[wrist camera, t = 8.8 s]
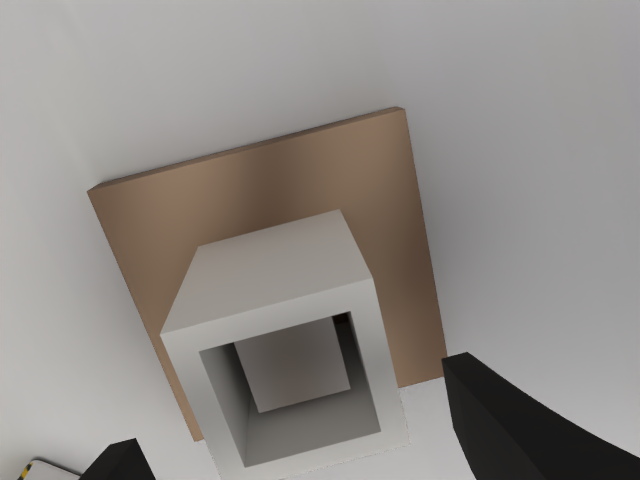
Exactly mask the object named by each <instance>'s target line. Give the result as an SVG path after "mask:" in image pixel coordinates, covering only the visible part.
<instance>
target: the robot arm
mask: <svg viewBox="0 0 640 480" xmlns="http://www.w3.org/2000/svg"><path fill="white" fill-rule="evenodd" d="M441 361H442V367H443V372H444V378H445V383H446V389H447V395H448V400H449V406H450V412H451V417H452V423H453V428H454V431H455V433H456V435H457V438H458V440H459V443H460V445H461V447H462V450H463V452H464V454H465V457H466V459H467V461H468V464H469V466H470V468H471V470H472V472H473V474H474V476H475V478H476V480H640V458H639V457H637V456H635V455H633V454H631V453H629V452H627V451H625V450H623V449H621V448H619V447H617V446H614V445H612V444H610V443H608V442H606V441H604V440H602V439H601V438H599V437H597V436H595V435H593V434H591V433H590V432H588V431H586V430H584V429H583V428H581V427H579V426H577V425H576V424H574V423H572V422H571V421H569V420H567V419H565V418H564V417H562V416H560V415H559V414H557V413H556V412H554V411H552V410H551V409H549V408H547V407H546V406H544V405H543V404H541V403H540V402H538V401H537V400H535V399H534V398H532V397H531V396H529V395H528V394H526V393H524V392H523V391H521V390H520V389H519V388H517V387H516V386H514V385H513V384H511V383H510V382H508V381H507V380H506V379H504V378H503V377H501V376H500V375H499V374H497V373H496V372H494V371H493V370H492V369H490V368H489V367H488V366H486V365H485V364H483V363H482V362H481V361H479V360H478V359H477V358H475V357H474V356H473V355H471V354H469V353H468V352H465V353H461V354H458V355H454V356H450V357H446V358H442V359H441ZM78 480H156V479H155V477H154V475H153V473H152V471H151V469H150V467H149V464H148V462H147V460H146V458H145V456H144V454H143V452H142V450H141V448H140V446H139V444H138V442H137V440H136V438H134V439H130V440H126V441H122V442H118V443H114V444H111V445H109V446H108V447H107V448H106V449H105V450H104V451H103V452H102V453H101V454H100V456H99V457H98V458H97V459H96V460H95V461H94V462H93V463H92V464H91V466H90V467H89V468H88V469H87V470H86V471H85V472H84V474H83V475H82V476H81V477H80V478H79V479H78Z"/></svg>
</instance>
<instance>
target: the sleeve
mask: <svg viewBox="0 0 640 480" xmlns="http://www.w3.org/2000/svg"><path fill="white" fill-rule="evenodd" d="M344 312H346V314H347V318H348V321H347V322H343V323H340V324H336V325H335V326H336V330H337V334H338V338H339V342H340V347H341V351H342V355H343V359H344V363H345V367H346V371H347V376H348V380H349V384H350V388H351V389H349V390H345V391H342V392H338V393H334V394H330V395H326V396H323V397H319V398H315V399H311V400H307V401H303V402H300V403H296V404H292V405H288V406H284V407H281V408H277V409H273V410H269V411H265V412H261V413H259V411H258V409H257V406H256V403H255V400H254V397H253V395H252V392H251V389H250V386H249V383H248V381H247V378H246V375H245V372H244V369H243V367H242V364H241V361H240V358H239V356H238V353H237V350H236V347H235V344H234V342H236V341H239V340H243V339H247V338H251V337H254V336H258V335H262V334H266V333H269V332H273V331H277V330H281V329H284V328H288V327H292V326H296V325H299V324H303V323H307V322H311V321H314V320H318V319H322V318H326V317H329V316H333V315H337V314H341V313H344ZM160 337H161V339H162V341H163V344H164V346H165V348H166V351H167V353H168V355H169V358H170V360H171V362H172V365H173V367H174V369H175V372H176V374H177V376H178V379H179V381H180V383H181V386H182V388H183V390H184V393H185V395H186V397H187V400H188V402H189V404H190V407H191V409H192V411H193V414H194V416H195V418H196V421H197V423H198V426H199V428H200V430H201V433H202V435H203V437H204V440H205V442H206V444H207V447H208V449H209V451H210V454H211V456H212V458H213V461H214V463H215V465H216V468H217V470H218V472H219V475H220V477H221V479H222V480H281V479H284V478H288V477H292V476H296V475H299V474H303V473H307V472H311V471H314V470H318V469H322V468H326V467H329V466H333V465H337V464H341V463H344V462H348V461H352V460H355V459H359V458H363V457H367V456H370V455H374V454H378V453H382V452H385V451H389V450H393V449H397V448H400V447H404V446H408V445H411V442H410V438H409V433H408V429H407V425H406V420H405V416H404V412H403V407H402V403H401V398H400V394H399V390H398V385H397V381H396V377H395V372H394V368H393V364H392V359H391V355H390V350H389V346H388V342H387V337H386V333H385V329H384V324H383V320H382V316H381V311H380V307H379V302H378V298H377V294H376V289H375V285H374V281H373V277H372V275H371V273H370V271H369V269H368V267H367V265H366V263H365V260H364V258H363V256H362V254H361V252H360V250H359V248H358V246H357V244H356V242H355V240H354V238H353V236H352V233H351V231H350V229H349V227H348V225H347V223H346V221H345V219H344V217H343V215H342V213H341V211H340V209H337V210H334V211H330V212H326V213H322V214H319V215H315V216H311V217H307V218H304V219H300V220H296V221H292V222H289V223H285V224H281V225H277V226H274V227H270V228H266V229H262V230H258V231H255V232H251V233H247V234H243V235H240V236H236V237H232V238H228V239H225V240H221V241H217V242H213V243H210V244H206V245H202V246H198V248H197V251H196V253H195V255H194V257H193V260H192V262H191V264H190V267H189V269H188V271H187V273H186V276H185V278H184V280H183V283H182V285H181V287H180V289H179V292H178V294H177V296H176V298H175V301H174V303H173V305H172V308H171V310H170V312H169V314H168V317H167V319H166V321H165V323H164V326H163V328H162V330H161V333H160Z"/></svg>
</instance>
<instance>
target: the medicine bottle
mask: <svg viewBox="0 0 640 480" xmlns="http://www.w3.org/2000/svg"><path fill="white" fill-rule="evenodd" d="M79 478H80V476H78V475H75V474H73V473H70V472H68V471H65V470H63V469H60V468H57V467H55V466H52V465H50V464H47V463H45V462H42V461H39V460H35V461H32V462H31V463H29V464H28V465H27V466H26V468H25V469H24V471H23V472H22V474H21V476H20V477H19V479H18V480H78V479H79Z"/></svg>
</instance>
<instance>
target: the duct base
mask: <svg viewBox="0 0 640 480" xmlns="http://www.w3.org/2000/svg"><path fill="white" fill-rule="evenodd" d="M87 193H88V196H89V198H90V200H91V203H92V205H93V207H94V210H95V212H96V214H97V217H98V219H99V221H100V224H101V226H102V228H103V231H104V233H105V235H106V237H107V240H108V242H109V244H110V247H111V249H112V251H113V254H114V256H115V258H116V261H117V263H118V265H119V268H120V270H121V272H122V275H123V277H124V279H125V282H126V284H127V286H128V289H129V291H130V293H131V296H132V298H133V300H134V303H135V305H136V307H137V309H138V312H139V314H140V316H141V319H142V321H143V323H144V326H145V328H146V330H147V333H148V335H149V337H150V340H151V342H152V344H153V347H154V349H155V351H156V354H157V356H158V358H159V361H160V363H161V365H162V368H163V370H164V372H165V374H166V377H167V379H168V381H169V384H170V386H171V388H172V391H173V393H174V395H175V398H176V400H177V402H178V405H179V407H180V409H181V412H182V414H183V416H184V419H185V421H186V423H187V426H188V428H189V430H190V433H191V435H192V437H193V440H194V442H195V441H199V440H203V439H204V437H203V435H202V433H201V430H200V428H199V426H198V423H197V421H196V418H195V416H194V414H193V411H192V409H191V407H190V404H189V402H188V400H187V397H186V395H185V393H184V390H183V388H182V386H181V383H180V381H179V379H178V376H177V374H176V372H175V369H174V367H173V365H172V362H171V360H170V358H169V355H168V353H167V351H166V348H165V346H164V344H163V341H162V339H161V337H160V333H161V330H162V328H163V326H164V323H165V321H166V319H167V317H168V314H169V312H170V310H171V308H172V305H173V303H174V301H175V298H176V296H177V294H178V292H179V289H180V287H181V285H182V283H183V280H184V278H185V276H186V273H187V271H188V269H189V267H190V264H191V262H192V260H193V257H194V255H195V253H196V251H197V248H198V246H202V245H206V244H210V243H213V242H217V241H221V240H225V239H228V238H232V237H236V236H240V235H243V234H247V233H251V232H255V231H258V230H262V229H266V228H270V227H274V226H277V225H281V224H285V223H289V222H292V221H296V220H300V219H304V218H307V217H311V216H315V215H319V214H322V213H326V212H330V211H334V210H337V209H340V211H341V213H342V215H343V217H344V219H345V221H346V223H347V225H348V227H349V229H350V231H351V233H352V236H353V238H354V240H355V242H356V244H357V246H358V248H359V250H360V252H361V254H362V256H363V258H364V260H365V263H366V265H367V267H368V269H369V271H370V273H371V275H372V277H373V281H374V285H375V289H376V294H377V298H378V302H379V307H380V311H381V316H382V320H383V324H384V329H385V333H386V337H387V342H388V346H389V350H390V355H391V359H392V364H393V368H394V372H395V377H396V381H397V385H398V388H401V387H405V386H409V385H413V384H417V383H420V382H424V381H428V380H432V379H436V378H439V377H443V376H444V372H443V367H442V361H441V359H442V358H446V357H447V351H446V346H445V340H444V334H443V328H442V322H441V317H440V311H439V305H438V299H437V293H436V287H435V282H434V276H433V270H432V264H431V258H430V253H429V247H428V241H427V235H426V229H425V223H424V218H423V212H422V206H421V200H420V194H419V189H418V183H417V177H416V171H415V165H414V159H413V154H412V148H411V142H410V136H409V130H408V125H407V119H406V113H405V109H403V108H399V107H393V108H389V109H385V110H381V111H378V112H374V113H370V114H366V115H362V116H358V117H354V118H351V119H347V120H343V121H339V122H335V123H331V124H328V125H324V126H320V127H316V128H312V129H308V130H304V131H301V132H297V133H293V134H289V135H285V136H281V137H277V138H274V139H270V140H266V141H262V142H258V143H254V144H250V145H247V146H243V147H239V148H235V149H231V150H227V151H223V152H220V153H216V154H212V155H208V156H204V157H200V158H196V159H193V160H189V161H185V162H181V163H177V164H173V165H169V166H166V167H162V168H158V169H154V170H150V171H146V172H143V173H139V174H135V175H131V176H127V177H123V178H119V179H116V180H112V181H108V182H104V183H100V184H98V185H96V186H95V187H93V188H92V189H90V190H89V191H87ZM347 321H348V318H347V314H346V312H344V313H341V314H337V315H333V316H329V317H326V318H322V319H318V320H314V321H311V322H307V323H303V324H299V325H296V326H292V327H288V328H284V329H281V330H277V331H273V332H269V333H266V334H262V335H258V336H254V337H251V338H247V339H243V340H239V341H236V342H234V344H235V347H236V350H237V353H238V356H239V358H240V361H241V364H242V367H243V369H244V372H245V375H246V378H247V381H248V383H249V386H250V389H251V392H252V395H253V397H254V400H255V403H256V406H257V409H258V411H259V413H261V412H265V411H269V410H273V409H277V408H281V407H284V406H288V405H292V404H296V403H300V402H303V401H307V400H311V399H315V398H319V397H323V396H326V395H330V394H334V393H338V392H342V391H345V390H349V389H351V388H350V384H349V380H348V376H347V371H346V367H345V363H344V359H343V355H342V351H341V347H340V342H339V338H338V334H337V330H336V326H335V325H336V324H340V323H343V322H347Z"/></svg>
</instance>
